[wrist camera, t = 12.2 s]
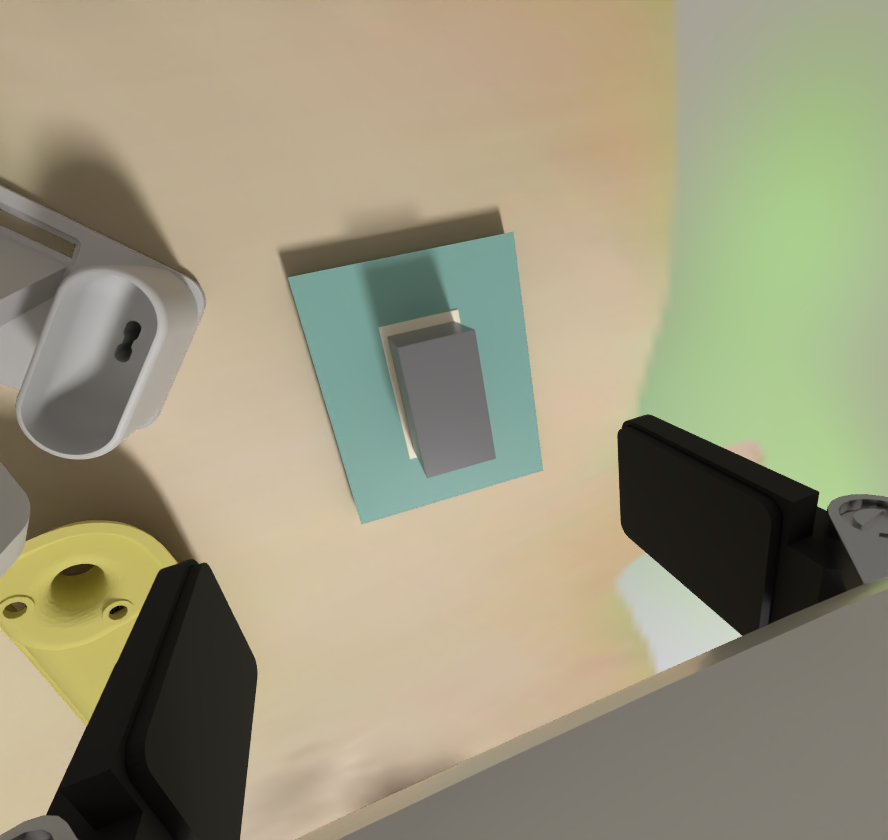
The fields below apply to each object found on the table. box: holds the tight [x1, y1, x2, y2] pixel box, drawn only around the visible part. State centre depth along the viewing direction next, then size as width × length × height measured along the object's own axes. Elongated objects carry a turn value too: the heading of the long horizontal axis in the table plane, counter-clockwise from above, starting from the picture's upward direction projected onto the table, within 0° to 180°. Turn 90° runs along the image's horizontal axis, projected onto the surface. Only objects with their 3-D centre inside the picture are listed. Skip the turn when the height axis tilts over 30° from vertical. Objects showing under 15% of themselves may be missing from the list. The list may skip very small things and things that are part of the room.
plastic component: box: [0, 520, 178, 726], centre depth 30 cm, size 20×7×10 cm
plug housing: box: [387, 321, 496, 478], centre depth 28 cm, size 4×8×4 cm, turn 11°
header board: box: [288, 232, 543, 524], centre depth 30 cm, size 14×17×4 cm
